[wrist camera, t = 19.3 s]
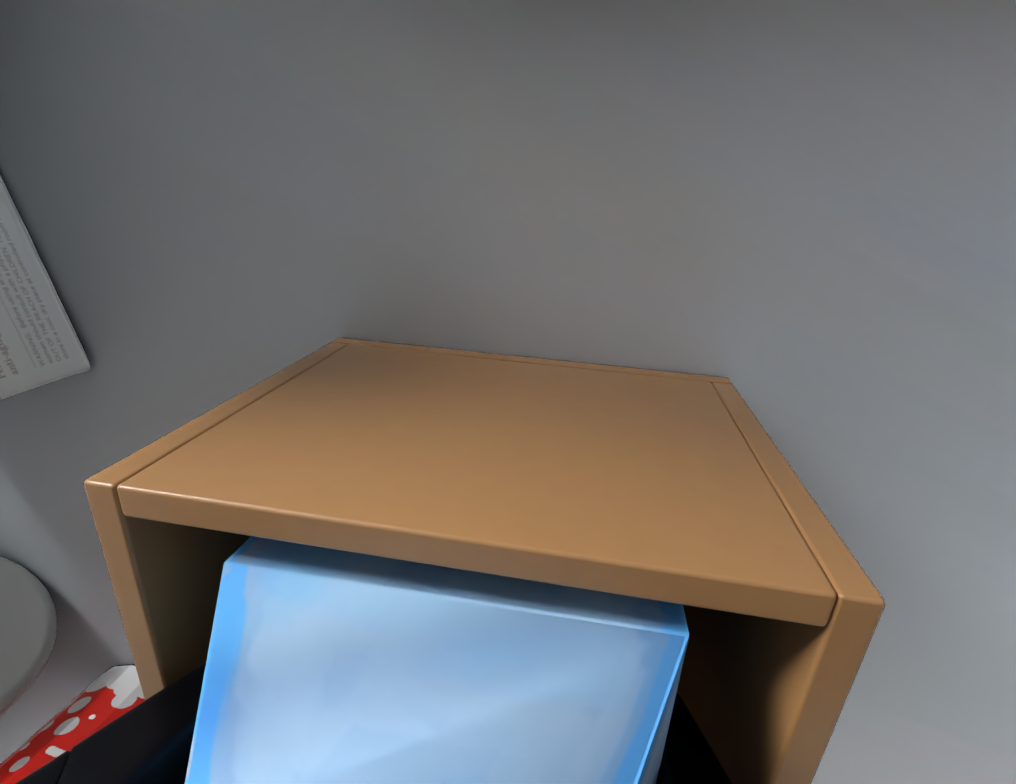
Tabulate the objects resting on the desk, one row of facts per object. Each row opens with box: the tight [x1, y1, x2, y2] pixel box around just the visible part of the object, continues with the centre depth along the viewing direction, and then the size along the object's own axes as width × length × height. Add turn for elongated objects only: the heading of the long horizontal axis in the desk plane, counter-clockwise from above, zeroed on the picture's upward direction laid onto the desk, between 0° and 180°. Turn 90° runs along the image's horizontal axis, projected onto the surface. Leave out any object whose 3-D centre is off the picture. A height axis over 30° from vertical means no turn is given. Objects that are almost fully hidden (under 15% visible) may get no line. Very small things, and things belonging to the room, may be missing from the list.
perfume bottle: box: [185, 536, 689, 784], centre depth 8 cm, size 6×6×12 cm
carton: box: [84, 338, 885, 784], centre depth 12 cm, size 12×10×8 cm
